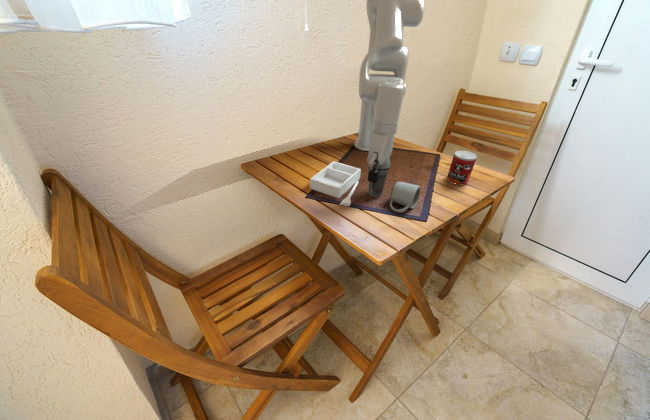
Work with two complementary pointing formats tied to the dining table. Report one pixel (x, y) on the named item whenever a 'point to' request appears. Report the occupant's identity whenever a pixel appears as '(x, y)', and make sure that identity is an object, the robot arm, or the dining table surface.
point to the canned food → (461, 167)
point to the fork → (349, 196)
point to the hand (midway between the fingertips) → (377, 175)
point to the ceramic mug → (404, 195)
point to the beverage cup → (379, 179)
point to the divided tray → (335, 179)
